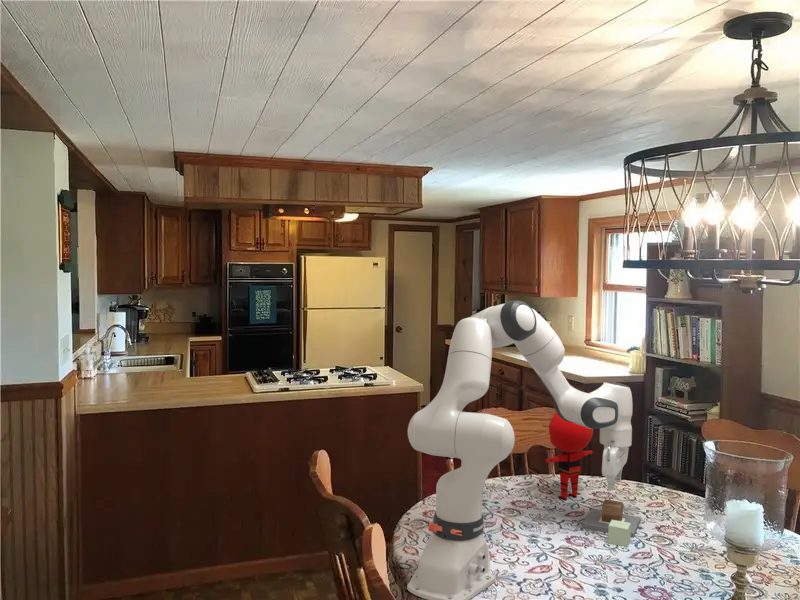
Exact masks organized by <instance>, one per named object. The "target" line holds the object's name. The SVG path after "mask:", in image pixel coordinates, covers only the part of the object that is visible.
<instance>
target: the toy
mask: <svg viewBox="0 0 800 600" xmlns="http://www.w3.org/2000/svg"><path fill="white" fill-rule="evenodd" d="M548 433H549V438H550V439H549V441H550V443H551V445H553V446H554V448H556V449H558V450H560V451H561V453H559V454H557V455H555V456H553V457H550V458H546V459H545V463H547V464H549V463H557V462H558V464H557V465H558V466H557V468H558V473H559V481H560V482H559V483H560V495H558V496H557V497H558V499H560V500H562V499H563V501H567V500H568V499H567V498H568V496H569V497H573V499H575V498H577V497H578V487H579V479H580V478H579V477H580V474H581V468H582V466H581V460H580V459H582V458H583V457H586V456H588V455H591V454H593V450H584V449H585V448H586V447H587V446H588V445H589V443H590V442H591V441H592V438H593V434H594V429H589V428H586V427H583V426H580V425H578V424H575V423H571V422H567V421H564V420H563V419H561V418H560V417H559V415H558V414H557V412H556V411H555V412H554V414H553V415H552V418H551V420H550V422H549V424H548ZM569 479H570V480H569ZM569 481H570V487H571V492H569V491H568V490H569Z"/></svg>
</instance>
